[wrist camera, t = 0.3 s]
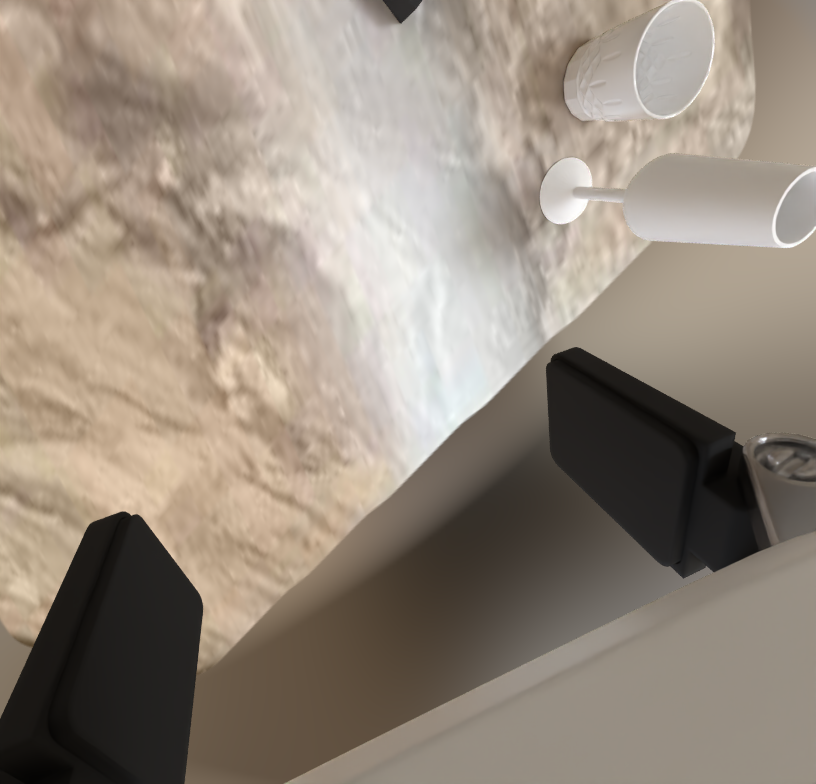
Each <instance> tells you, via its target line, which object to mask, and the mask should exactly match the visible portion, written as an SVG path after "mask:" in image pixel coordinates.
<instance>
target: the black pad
mask: <svg viewBox="0 0 816 784" xmlns="http://www.w3.org/2000/svg"><path fill="white" fill-rule="evenodd" d="M383 1H384V3H385V4H386V5H387V6H388V8H389V9H390V10H391V12H392V13H393V14H394V16H395V17H396V18H397V20H398V21H399V22H400V23H402V22H403V21H404V20H405V19H406V18H407V17H408V16H409V15H410V14H411V13H412V12H413V11H414V10H415V9H416V8H417V7H418V6H419V4H420V3H421V2H422V0H383Z"/></svg>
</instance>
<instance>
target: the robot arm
mask: <svg viewBox="0 0 816 784" xmlns="http://www.w3.org/2000/svg"><path fill="white" fill-rule="evenodd" d="M546 377H547V397H548V417H549V436H550V452H551V455H552V458H553V459H554V461H555V463H556V464H557V465H558V466H559V467H560V468H561V469H562V470H563V471H564V472H565V473H566V474H567V475H568V476H569V477H570V478H571V479H572V480H573V481H574V482H575V483H577V484H578V485H579V486H580V487H581V488H582V489H583V490H584V491H585V492H586V493H587V494H588V495H589V496H590V497H591V498H592V499H593V500H594V501H595V502H596V503H598V505H599V506H600V507H601V508H602V509H603V510H604V511H606V512H607V513H608V514H609V515H610V516H611V517H612V518H613V519H614V520H615V521H616V522H617V523H618V524H619V525H620V526H621V527H622V528H623V529H624V530H625V531H626V532H627V533H628V534H630V536H631V537H633V538H634V539H635V540H636V541H637V542H638V543H639V544H640V545H641V546H642V547H643V548H644V549H645V550H646V551H647V552H648V553H649V554H650V555H651V556H652V557H653V558H654V559H655V560H656V561H657V562H659V563H660V564H661V565H663V566H667V567H668V566H671V567H672V568H673V569H674V570H675V571H676V572H677V573H678V574H679V575H680V576H681V577H682V578H685V577H688V576H690V575H692V574H694V573H696V572H698V571H700V570H702V569H704V568H705V567H706V566H707V567H708V568H710V569H711V570H712V571H713V572H714V573H712V574H710V575H708V576H705V577H703V578H701V579H699V580H697V581H694V582H692V583H690V584H688V585H686V586H684V587H682V588H679V589H677V590H675V591H673V592H671V593H669V594H667V595H665V596H663V597H661V598H659V599H657V600H655V601H653V602H651V603H649V604H647V605H645V606H643V607H640V608H638V609H636V610H634V611H632V612H630V613H628V614H626V615H624V616H622V617H620V618H618V619H616V620H614V621H612V622H610V623H608V624H606V625H604V626H602V627H600V628H598V629H595V630H593V631H591V632H589V633H587V634H585V635H583V636H581V637H579V638H577V639H575V640H573V641H571V642H569V643H567V644H565V645H563V646H561V647H558V648H556V649H554V650H553V651H550V652H548V653H546V654H544V655H542V656H540V657H538V658H536V659H534V660H532V661H530V662H528V663H526V664H524V665H522V666H520V667H518V668H516V669H514V670H512V671H510V672H508V673H506V674H504V675H502V676H500V677H498V678H496V679H494V680H492V681H490V682H487V683H485V684H483V685H481V686H479V687H478V688H475V689H473V690H471V691H469V692H467V693H465V694H463V695H461V696H459V697H457V698H455V699H453V700H451V701H449V702H447V703H445V704H443V705H441V706H439V707H437V708H435V709H433V710H431V711H429V712H427V713H425V714H423V715H421V716H419V717H417V718H415V719H413V720H411V721H409V722H407V723H405V724H403V725H401V726H399V727H397V728H395V729H393V730H391V731H389V732H387V733H384V734H382V735H380V736H378V737H377V738H375V739H372V740H370V741H368V742H366V743H364V744H362V745H361V746H358V747H357V748H354V749H352V750H350V751H348V752H347V753H344V754H343V755H341V756H338V757H337V758H334V759H332V760H330V761H328V762H326V763H324V764H323V765H321V766H319V767H316V768H315V769H312V770H310V771H308V772H307V773H304V774H302V775H301V776H298V777H297V778H295V779H293V780H291V781H289V782H287V783H285V784H816V439H814V438H810V437H807V436H803V435H799V434H791V433H766V434H761V435H757V436H755V437H753V438H751V439H749V440H748V441H747V442H746V444H745V445H744V446H742V445H740V444H738V443H737V442H735V441H734V439H735V435H736V433H735V432H734V431H732V430H730V429H728V428H726V427H725V426H723V425H721V424H719V423H717V422H715V421H713V420H712V419H710V418H708V417H706V416H704V415H702V414H701V413H699V412H697V411H695V410H693V409H691V408H690V407H688V406H686V405H684V404H682V403H680V402H678V401H677V400H675V399H673V398H671V397H669V396H667V395H666V394H664V393H662V392H660V391H658V390H656V389H655V388H653V387H651V386H649V385H647V384H645V383H644V382H642V381H640V380H638V379H636V378H634V377H632V376H630V375H629V374H627V373H625V372H623V371H621V370H620V369H618V368H616V367H614V366H612V365H610V364H608V363H607V362H605V361H603V360H601V359H599V358H597V357H596V356H594V355H592V354H590V353H588V352H586V351H584V350H583V349H581V348H578V347H574V348H571V349H568V350H566V351H563V352H560V353H557V354H554V355H553V356H552V358H551V362H550V363H548V364H547V366H546ZM202 616H203V603H202V599H201V597H200V594H199V593H198V591H197V590H196V589H195V587H194V586H193V585H192V583H191V582H190V581H189V579H188V578H187V577H186V575H185V574H184V573H183V571H182V570H181V569H180V567H179V566H178V565H177V563H176V562H175V561H174V559H173V558H172V557H171V555H170V554H169V553H168V551H167V550H166V549H165V547H164V546H163V545H162V544H161V542H160V541H159V540H158V538H157V537H156V536H155V534H154V533H153V532H152V530H151V529H150V528H149V526H148V525H147V524H146V522H145V521H144V520H143V518H142V517H141V516H139V515H137V514H135V515H132V516H131V515H130V514H129V513H127V512H119V513H116V514H114V515H111V516H108V517H105V518H103V519H100V520H97V521H94V522H92V523H91V524H90V525H89V526H88V528H87V530H86V532H85V534H84V536H83V538H82V541H81V543H80V545H79V547H78V549H77V552H76V554H75V556H74V558H73V560H72V562H71V565H70V567H69V569H68V571H67V573H66V576H65V578H64V580H63V582H62V584H61V587H60V589H59V591H58V593H57V595H56V598H55V600H54V602H53V604H52V606H51V609H50V611H49V613H48V615H47V617H46V620H45V622H44V624H43V626H42V628H41V631H40V633H39V635H38V637H37V639H36V641H35V644H34V646H33V648H32V650H31V653H30V655H29V657H28V659H27V661H26V664H25V666H24V668H23V670H22V672H21V674H20V677H19V679H18V681H17V683H16V685H15V688H14V690H13V692H12V694H11V696H10V699H9V701H8V703H7V705H6V707H5V710H4V712H3V714H2V716H1V718H0V784H184V782H185V773H186V763H187V754H188V745H189V736H190V727H191V717H192V708H193V698H194V689H195V680H196V671H197V662H198V653H199V643H200V634H201V625H202Z"/></svg>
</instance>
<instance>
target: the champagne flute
mask: <svg viewBox="0 0 816 784" xmlns="http://www.w3.org/2000/svg"><path fill="white" fill-rule="evenodd" d="M589 200H597V201H608V202H619V203H623V214H624V217H625V220H626V223H627V225H628V226H629V228H630V229H631V231H632V232H633V233H634V234H635V235H636V236H638V237H640V238H642V239H644V240H649V241H667V242H685V243H686V242H687V243H704V244H722V245H741V246H759V247H777V248H789V247H793V246H796V245H798V244H800V243H801V242H803V241H804V240H806V239H807V238H808V237H809V236H810V235H811V234H812V233H813V232H814V231H815V229H816V166H810V165H809V166H808V165H799V164H788V163H776V162H766V161H755V160H744V159H733V158H722V157H711V156H700V155H689V154H679V153H670V154H666V155H663V156H660V157H657V158H655V159H654V160H652V161H651V162H649V163H648V164H646V165H645V166H644V167H643V168H642V169H641V170H640V171H639V172H638V173H637V174H636V175H635V176H634V177H633V179H632V180H631V182H630V183H629V185H628V187H627V189H616V188H597V187H592V177H591V173H590V170H589V168H588V167H587V165H586V164H585V163H584V162H583V161H582V160H580V159H578V158H574V157H570V158H565V159H562V160H560V161H558V162H557V163H556V164H554V165H553V166H552V167H551V168H550V170H549V171H548V172H547V174H546V176H545V177H544V180H543V182H542V185H541V189H540V205H541V209H542V211H543V214H544V215H545V217H546V218H547V219H548V220H550V221H551V222H553V223H555V224H566V223H569V222H571V221H573V220H574V219H576V218H577V217H578V216H579V215H580V214H581V213H582V212H583V210H584V209H585V207H586V206H587V204H588V201H589Z"/></svg>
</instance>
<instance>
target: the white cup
mask: <svg viewBox="0 0 816 784" xmlns="http://www.w3.org/2000/svg"><path fill="white" fill-rule="evenodd" d="M714 46H715V34H714V27H713V22H712V19H711V16H710V14H709V12H708V10H707V9H706V7H705V6H704V5H703V4H702V3H701V2H700V1H698V0H671V1H669V2H667V3H665V4H663V5H661V6H659V7H656V8H654V9H652V10H650V11H648V12H645V13H643V14H641V15H639V16H637V17H635V18H632V19H630V20H628V21H627V22H624V23H622V24H620V25H618V26H616V27H614V28H612V29H610V30H608V31H606V32H605V33H603V34H602V35H600V36H598V37H595V38H593V39H591V40H590V41H588V42H587V43H585V44H584V45H582V46H581V47H579V48H578V49H577V51H576V52H575V54H574V55H573V57H572V59H571V60H570V62H569V63H568V66H567V70H566V74H565V78H564V83H563V84H564V97H565V102H566V104H567V106H568V108H569V110H570V112H571V114H572V115H574V116H575V117H577V118H578V119H580V120H581V121H592V120H602V121H634V120H654V119H667V118H671V117H674V116H676V115H678V114H679V113H681V112H682V111H684V110H685V109H686V108H687V107H688V106H689V105H690V104H691V103H692V102H693V101H694V99H695V98H696V97H697V95H698V94H699V92H700V91H701V89H702V87H703V85H704V83H705V81H706V79H707V77H708V74H709V71H710V68H711V64H712V60H713V55H714Z"/></svg>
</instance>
